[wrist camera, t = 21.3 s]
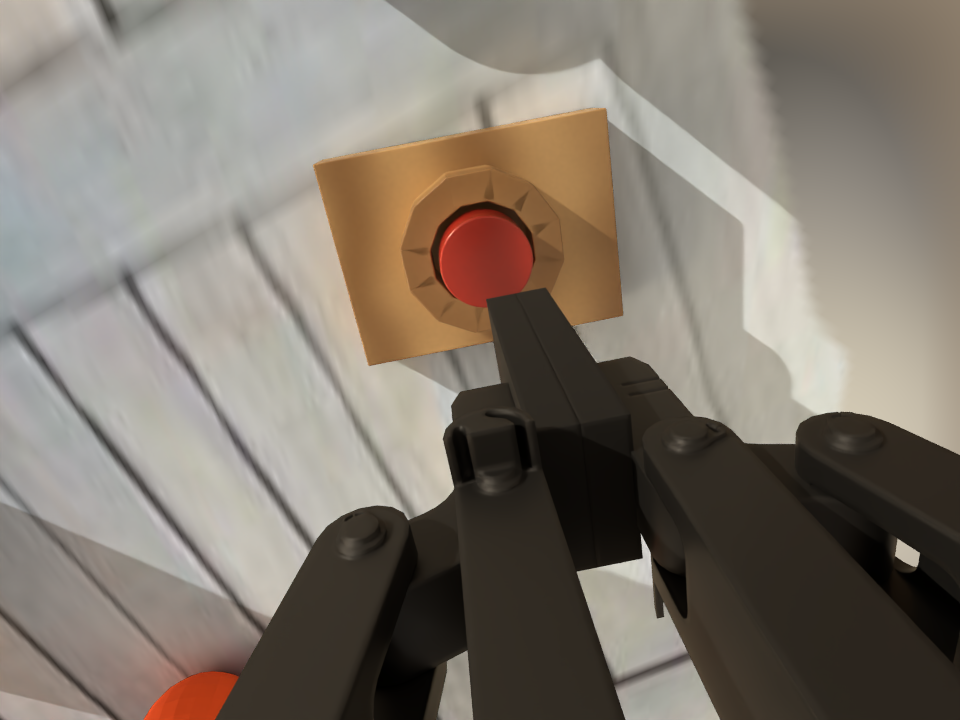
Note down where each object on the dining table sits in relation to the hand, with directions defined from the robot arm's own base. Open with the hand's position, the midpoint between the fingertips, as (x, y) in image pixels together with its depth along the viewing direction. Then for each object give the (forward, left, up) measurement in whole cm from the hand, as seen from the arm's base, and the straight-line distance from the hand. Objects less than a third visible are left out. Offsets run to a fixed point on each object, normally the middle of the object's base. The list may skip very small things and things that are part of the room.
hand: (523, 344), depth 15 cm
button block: (0, 0, -14) cm, 14 cm away
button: (0, 0, -10) cm, 10 cm away
